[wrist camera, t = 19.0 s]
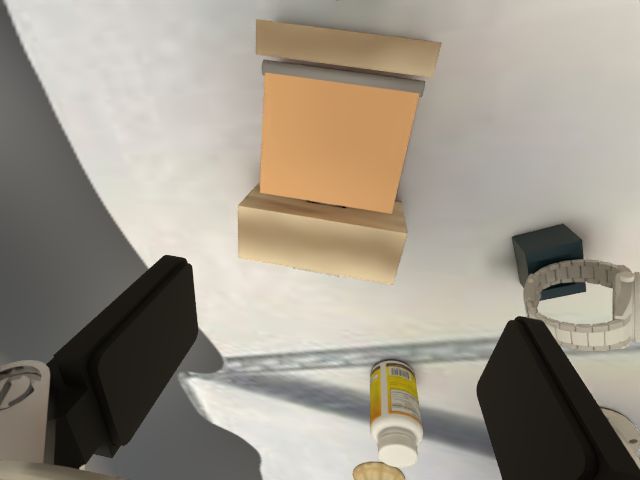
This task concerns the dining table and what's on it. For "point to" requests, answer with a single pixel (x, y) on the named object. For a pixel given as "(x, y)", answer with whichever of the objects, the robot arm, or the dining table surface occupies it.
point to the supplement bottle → (395, 413)
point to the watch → (576, 288)
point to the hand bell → (377, 472)
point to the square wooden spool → (321, 220)
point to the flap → (335, 134)
